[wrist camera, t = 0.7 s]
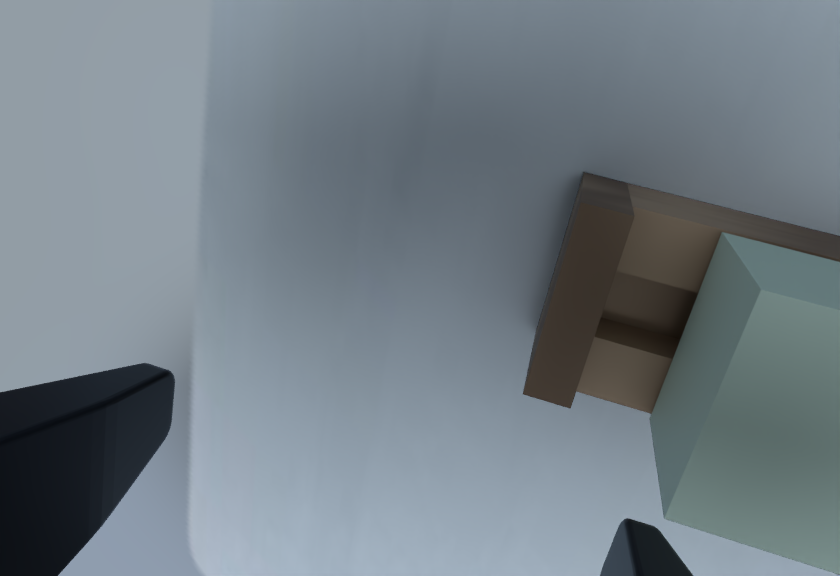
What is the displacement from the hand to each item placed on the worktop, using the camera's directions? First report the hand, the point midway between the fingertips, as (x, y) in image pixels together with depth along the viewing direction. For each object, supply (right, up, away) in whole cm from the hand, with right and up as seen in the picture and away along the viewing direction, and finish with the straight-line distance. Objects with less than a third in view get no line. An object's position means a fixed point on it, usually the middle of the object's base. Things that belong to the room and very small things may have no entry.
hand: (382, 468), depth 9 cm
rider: (+9, +1, +9) cm, 13 cm away
